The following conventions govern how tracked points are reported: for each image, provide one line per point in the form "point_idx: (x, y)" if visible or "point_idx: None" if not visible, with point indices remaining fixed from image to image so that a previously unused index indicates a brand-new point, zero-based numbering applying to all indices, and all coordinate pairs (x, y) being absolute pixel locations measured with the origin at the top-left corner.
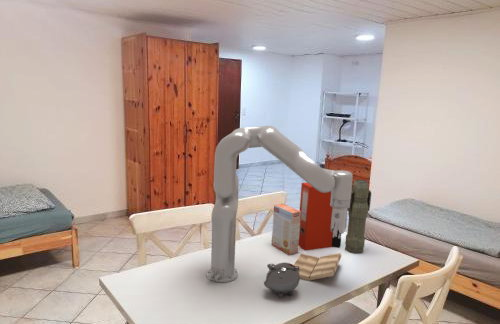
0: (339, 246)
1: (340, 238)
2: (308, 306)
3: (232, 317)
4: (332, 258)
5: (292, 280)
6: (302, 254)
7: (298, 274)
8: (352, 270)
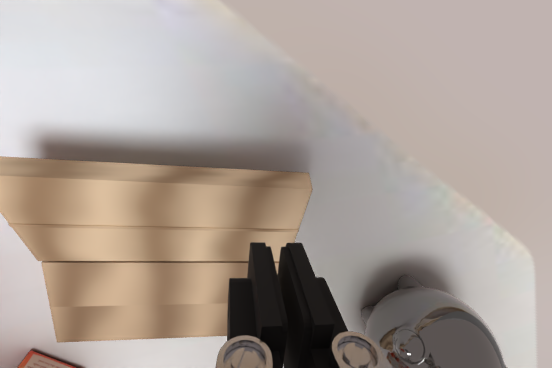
0: (303, 252)
1: (324, 326)
2: (463, 216)
3: (529, 361)
4: (87, 207)
5: (488, 329)
6: (63, 335)
7: (460, 328)
8: (57, 63)
